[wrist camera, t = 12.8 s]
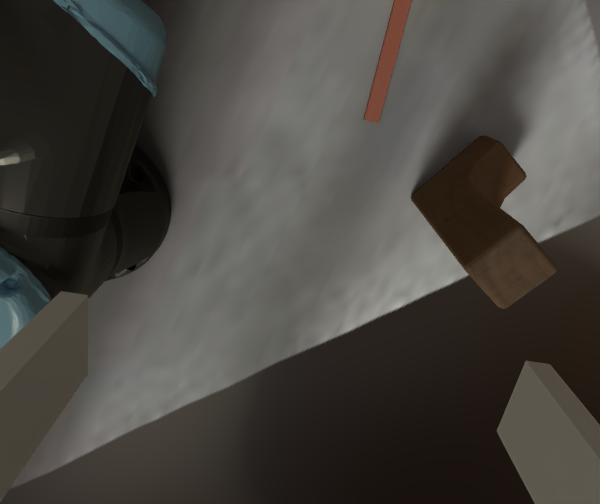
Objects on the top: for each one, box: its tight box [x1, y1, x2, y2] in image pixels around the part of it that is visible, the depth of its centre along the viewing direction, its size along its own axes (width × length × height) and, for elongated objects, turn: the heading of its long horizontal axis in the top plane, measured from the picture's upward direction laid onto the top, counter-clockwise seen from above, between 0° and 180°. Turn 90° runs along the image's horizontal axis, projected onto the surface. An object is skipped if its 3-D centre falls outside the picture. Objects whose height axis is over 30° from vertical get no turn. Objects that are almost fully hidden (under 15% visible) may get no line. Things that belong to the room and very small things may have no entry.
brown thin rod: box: [364, 0, 412, 123], centre depth 43 cm, size 11×1×1 cm, turn 168°
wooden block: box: [411, 135, 557, 309], centre depth 38 cm, size 9×4×18 cm, turn 134°
